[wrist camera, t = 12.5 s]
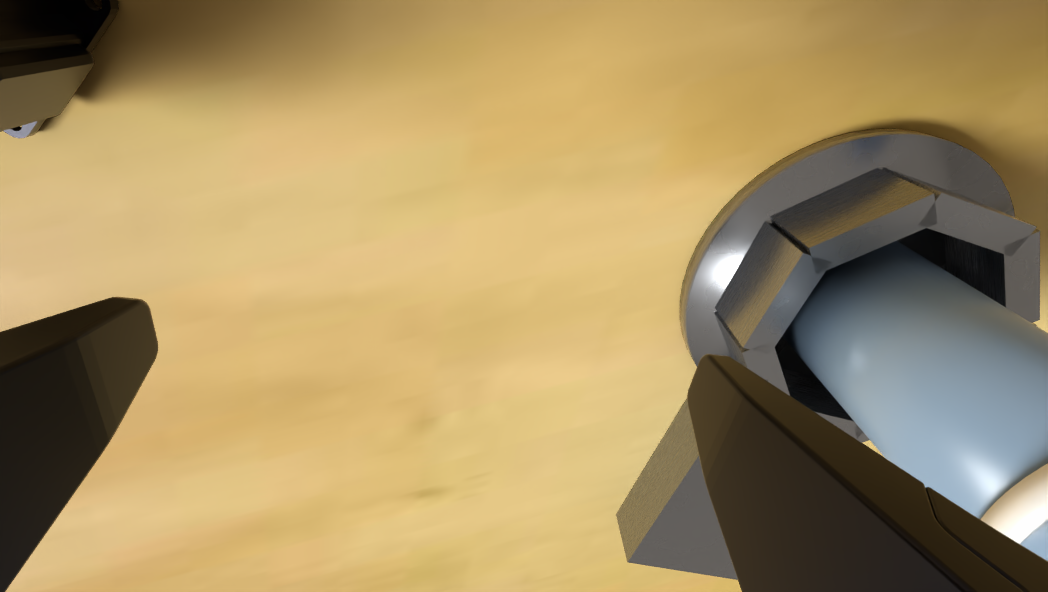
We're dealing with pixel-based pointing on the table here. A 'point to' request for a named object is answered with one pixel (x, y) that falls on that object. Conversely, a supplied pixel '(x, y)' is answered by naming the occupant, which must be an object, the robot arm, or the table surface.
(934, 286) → the duct elbow
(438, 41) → the table surface
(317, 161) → the table surface
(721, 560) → the duct collar
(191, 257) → the table surface
